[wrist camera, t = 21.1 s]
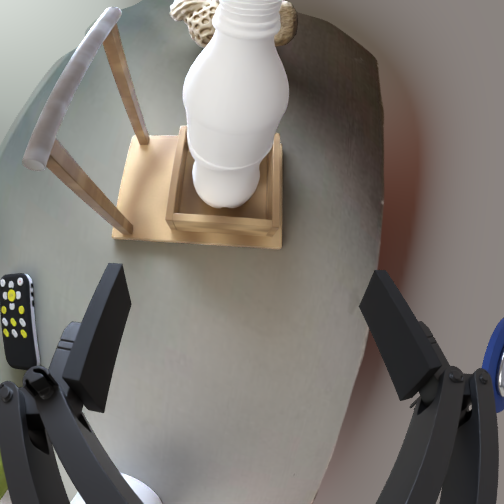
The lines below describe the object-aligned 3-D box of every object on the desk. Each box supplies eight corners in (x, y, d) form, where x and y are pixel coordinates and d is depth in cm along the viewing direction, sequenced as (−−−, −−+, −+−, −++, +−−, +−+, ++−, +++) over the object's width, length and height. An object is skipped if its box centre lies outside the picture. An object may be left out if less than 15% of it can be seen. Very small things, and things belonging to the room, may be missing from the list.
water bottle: (244, 223, 32) (316, 41, 8) (185, 204, 32) (145, 9, 8) (261, 171, 34) (332, -11, 10) (206, 154, 34) (211, -38, 9)
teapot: (157, 54, 37) (148, -15, 23) (188, 23, 40) (189, -38, 25) (275, 85, 38) (299, 11, 24) (294, 50, 41) (316, -13, 26)
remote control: (13, 366, 26) (5, 368, 24) (5, 276, 28) (-3, 274, 26) (43, 369, 26) (35, 372, 25) (34, 273, 29) (26, 271, 27)
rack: (280, 144, 36) (336, 18, 16) (279, 253, 33) (375, 176, 13) (134, 136, 34) (90, 11, 13) (113, 243, 31) (3, 162, 10)
